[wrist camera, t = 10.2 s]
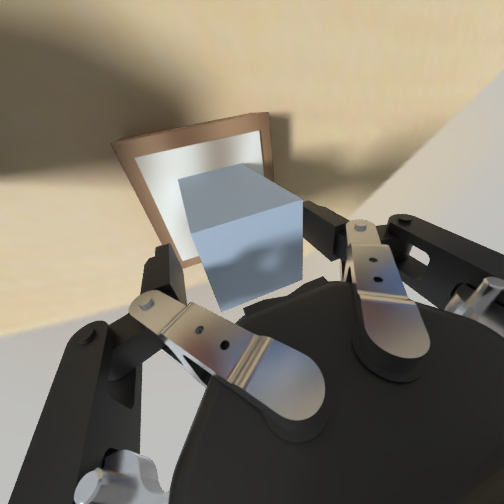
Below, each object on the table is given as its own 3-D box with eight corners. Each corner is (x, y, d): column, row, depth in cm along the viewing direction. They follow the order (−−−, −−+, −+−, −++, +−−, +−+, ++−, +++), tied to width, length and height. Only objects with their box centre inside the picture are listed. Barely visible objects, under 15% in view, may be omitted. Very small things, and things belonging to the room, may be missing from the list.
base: (250, 113, 18) (270, 112, 15) (263, 221, 24) (279, 237, 21) (121, 138, 16) (109, 144, 12) (173, 249, 22) (175, 272, 19)
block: (240, 163, 16) (302, 199, 9) (250, 219, 19) (302, 279, 12) (177, 179, 15) (190, 233, 8) (198, 235, 18) (221, 312, 11)
